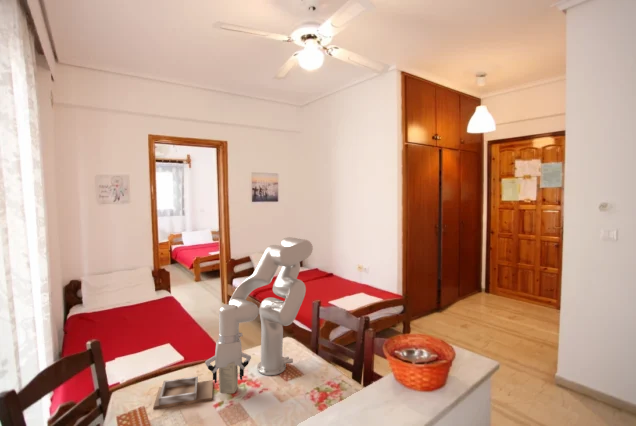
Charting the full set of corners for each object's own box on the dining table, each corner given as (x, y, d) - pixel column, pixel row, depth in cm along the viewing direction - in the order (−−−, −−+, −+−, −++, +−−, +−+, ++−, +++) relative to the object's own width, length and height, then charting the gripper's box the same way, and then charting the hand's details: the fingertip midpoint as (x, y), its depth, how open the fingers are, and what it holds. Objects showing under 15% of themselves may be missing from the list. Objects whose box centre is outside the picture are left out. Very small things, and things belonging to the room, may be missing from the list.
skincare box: (238, 387, 132) (238, 358, 131) (234, 394, 127) (234, 363, 126) (222, 386, 132) (223, 356, 132) (218, 392, 128) (218, 362, 127)
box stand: (212, 382, 135) (212, 374, 134) (212, 400, 123) (212, 391, 123) (159, 389, 129) (159, 381, 129) (153, 409, 117) (153, 399, 117)
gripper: (250, 331, 135) (249, 371, 136) (205, 335, 129) (205, 377, 130) (252, 338, 127) (251, 381, 128) (205, 343, 122) (204, 388, 123)
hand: (228, 379), depth 129 cm, fingers open, 9 cm apart
